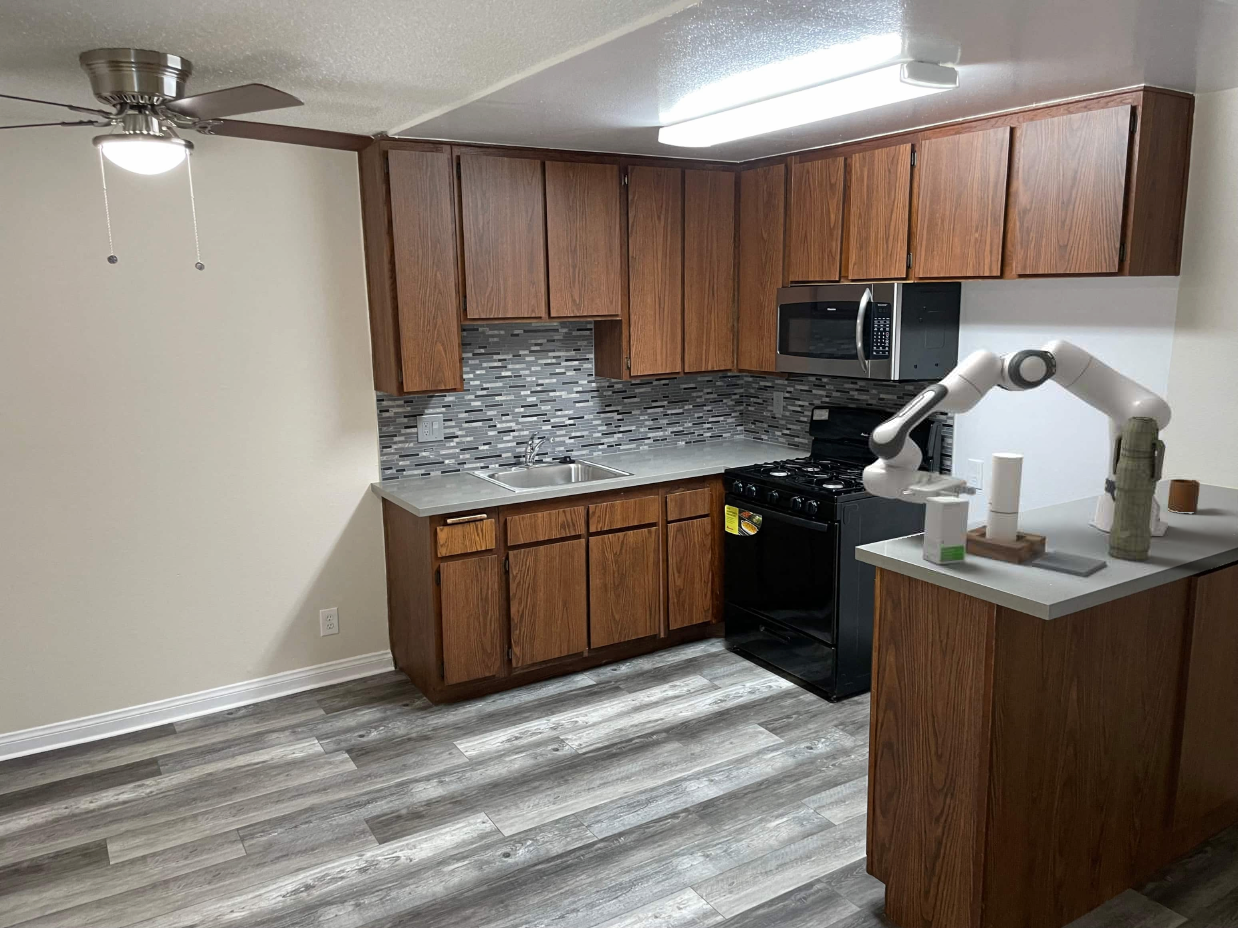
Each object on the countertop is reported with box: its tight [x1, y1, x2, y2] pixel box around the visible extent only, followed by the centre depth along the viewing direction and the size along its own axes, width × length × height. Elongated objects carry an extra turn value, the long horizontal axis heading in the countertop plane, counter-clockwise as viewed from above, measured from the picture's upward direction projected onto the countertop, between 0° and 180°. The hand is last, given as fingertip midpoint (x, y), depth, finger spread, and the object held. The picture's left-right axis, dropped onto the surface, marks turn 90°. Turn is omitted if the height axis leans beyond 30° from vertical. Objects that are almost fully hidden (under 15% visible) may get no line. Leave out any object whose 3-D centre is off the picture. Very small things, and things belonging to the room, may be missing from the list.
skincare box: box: [922, 496, 970, 565], centre depth 222 cm, size 8×7×16 cm
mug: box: [1167, 478, 1200, 513], centre depth 275 cm, size 12×8×9 cm, turn 126°
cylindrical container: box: [986, 452, 1024, 543], centre depth 229 cm, size 7×7×25 cm
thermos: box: [1107, 417, 1166, 562], centre depth 224 cm, size 9×12×35 cm
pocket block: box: [965, 524, 1047, 565], centre depth 231 cm, size 16×16×4 cm
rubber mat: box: [1031, 550, 1107, 578], centre depth 219 cm, size 14×12×1 cm
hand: (966, 494), depth 236 cm, fingers open, 8 cm apart
